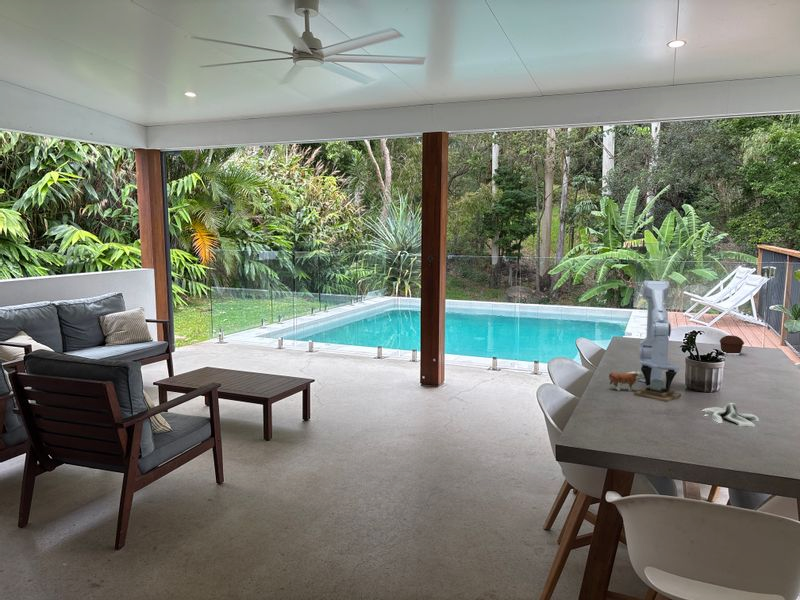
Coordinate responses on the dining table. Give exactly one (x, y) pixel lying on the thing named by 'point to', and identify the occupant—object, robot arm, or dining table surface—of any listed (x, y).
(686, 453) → the dining table surface
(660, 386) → the grey wood-grain block
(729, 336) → the muffin
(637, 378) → the bull figurine
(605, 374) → the dining table surface
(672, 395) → the brown square tray
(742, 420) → the cloth
